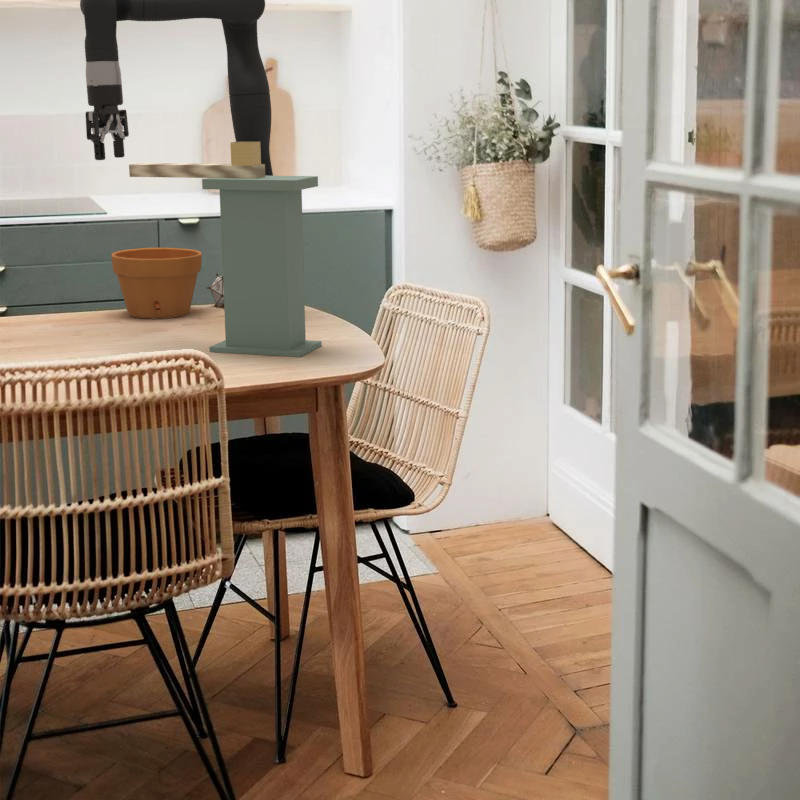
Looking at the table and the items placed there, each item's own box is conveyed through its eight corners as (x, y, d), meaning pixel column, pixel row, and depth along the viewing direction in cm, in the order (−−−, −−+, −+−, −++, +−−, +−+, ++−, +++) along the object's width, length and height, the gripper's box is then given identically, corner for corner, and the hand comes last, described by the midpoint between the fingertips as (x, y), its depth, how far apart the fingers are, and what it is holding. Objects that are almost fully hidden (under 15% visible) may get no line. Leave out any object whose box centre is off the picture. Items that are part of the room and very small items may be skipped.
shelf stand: (321, 345, 271) (317, 176, 263) (300, 356, 260) (295, 180, 252) (233, 341, 277) (227, 175, 269) (209, 351, 266) (202, 179, 258)
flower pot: (218, 308, 319) (215, 248, 315) (181, 323, 299) (178, 259, 295) (139, 305, 324) (136, 246, 321) (99, 319, 304) (95, 256, 301)
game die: (233, 319, 325) (255, 286, 325) (225, 313, 316) (248, 278, 317) (204, 300, 326) (226, 267, 326) (195, 293, 317) (218, 259, 318)
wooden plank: (265, 176, 263) (264, 164, 262) (255, 178, 258) (254, 165, 258) (141, 175, 271) (140, 163, 270) (129, 176, 266) (128, 164, 266)
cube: (261, 164, 262) (260, 141, 261) (252, 165, 258) (251, 142, 257) (240, 164, 263) (239, 141, 262) (231, 165, 259) (230, 142, 258)
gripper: (105, 83, 291) (110, 156, 295) (71, 84, 277) (78, 161, 281) (135, 82, 288) (140, 156, 292) (102, 83, 275) (109, 160, 279)
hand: (110, 158), depth 287 cm, fingers open, 8 cm apart
